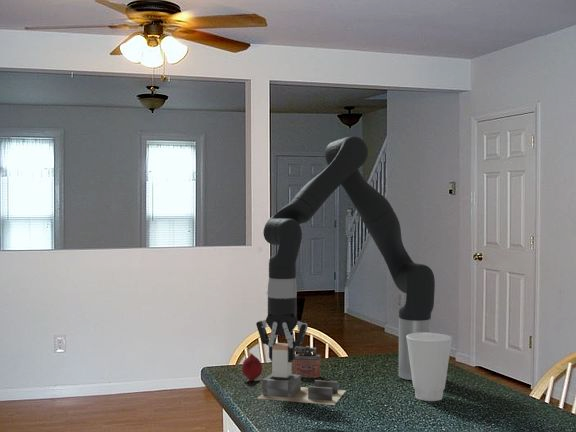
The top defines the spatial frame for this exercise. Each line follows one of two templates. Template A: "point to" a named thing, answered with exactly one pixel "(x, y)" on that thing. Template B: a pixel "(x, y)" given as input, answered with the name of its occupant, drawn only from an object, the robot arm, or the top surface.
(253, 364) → the onion
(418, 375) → the cup
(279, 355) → the plug
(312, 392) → the panel
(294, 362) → the lighter
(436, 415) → the top surface
